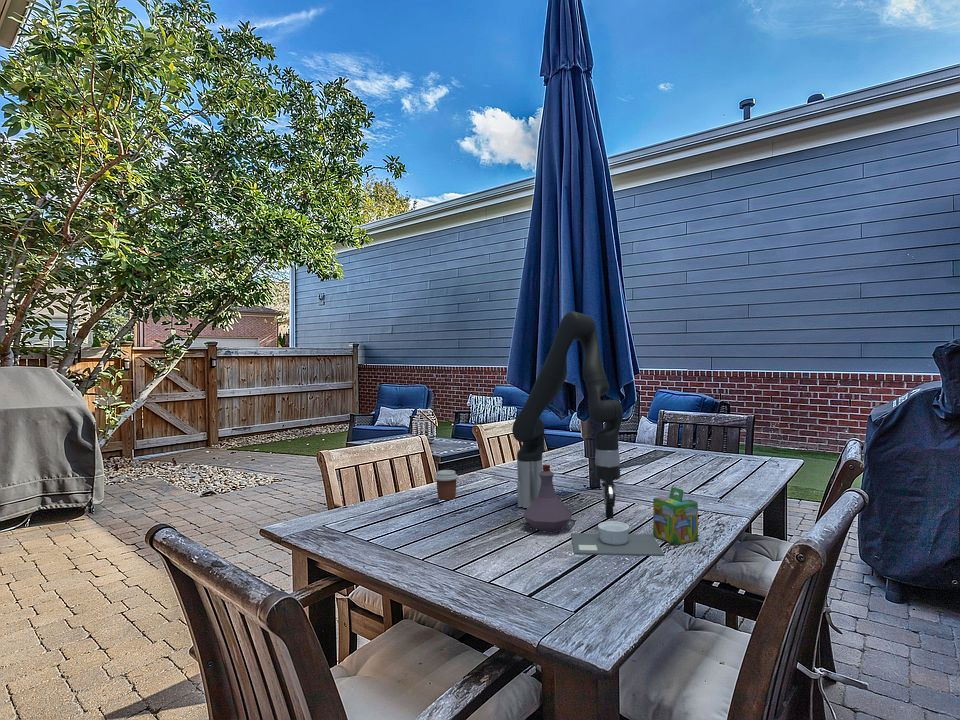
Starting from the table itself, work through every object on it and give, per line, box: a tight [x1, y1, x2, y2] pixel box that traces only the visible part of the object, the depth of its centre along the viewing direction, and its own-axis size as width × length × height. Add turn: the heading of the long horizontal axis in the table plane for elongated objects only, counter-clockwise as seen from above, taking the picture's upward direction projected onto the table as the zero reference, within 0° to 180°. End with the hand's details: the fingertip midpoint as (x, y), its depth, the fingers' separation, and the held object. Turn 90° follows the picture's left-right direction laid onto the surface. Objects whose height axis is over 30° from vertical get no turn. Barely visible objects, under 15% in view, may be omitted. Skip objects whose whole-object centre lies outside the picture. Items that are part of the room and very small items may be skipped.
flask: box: [522, 464, 573, 533], centre depth 162 cm, size 16×16×20 cm
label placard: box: [570, 532, 666, 557], centre depth 146 cm, size 24×16×1 cm, turn 83°
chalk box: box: [652, 486, 699, 546], centre depth 150 cm, size 9×9×15 cm
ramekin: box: [597, 520, 630, 545], centre depth 148 cm, size 9×9×4 cm
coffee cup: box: [433, 469, 459, 501], centre depth 194 cm, size 9×9×12 cm
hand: (609, 518), depth 160 cm, fingers closed
